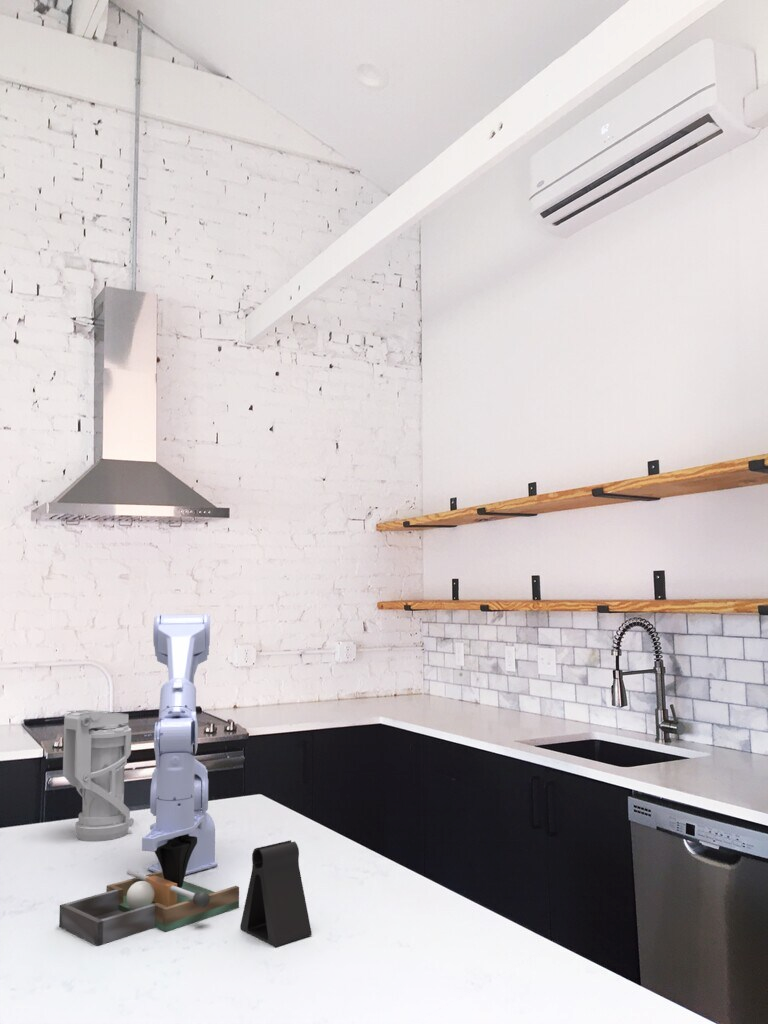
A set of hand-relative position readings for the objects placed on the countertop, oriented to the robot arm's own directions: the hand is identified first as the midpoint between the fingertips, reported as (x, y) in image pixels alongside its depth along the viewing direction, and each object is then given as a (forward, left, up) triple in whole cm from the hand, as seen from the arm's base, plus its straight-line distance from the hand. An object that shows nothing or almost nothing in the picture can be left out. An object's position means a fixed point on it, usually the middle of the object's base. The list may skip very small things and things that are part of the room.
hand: (174, 887), depth 134 cm
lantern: (-13, -46, -3) cm, 48 cm away
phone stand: (-3, +20, -3) cm, 20 cm away
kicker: (+2, +1, -1) cm, 3 cm away
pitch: (+5, 0, -3) cm, 6 cm away
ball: (+6, 0, 0) cm, 6 cm away
